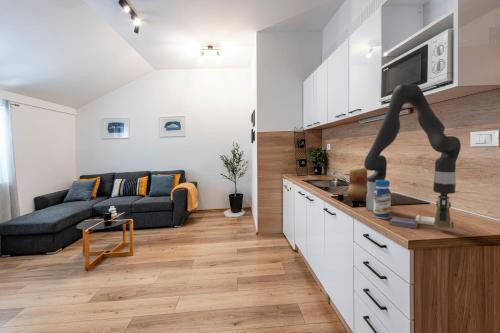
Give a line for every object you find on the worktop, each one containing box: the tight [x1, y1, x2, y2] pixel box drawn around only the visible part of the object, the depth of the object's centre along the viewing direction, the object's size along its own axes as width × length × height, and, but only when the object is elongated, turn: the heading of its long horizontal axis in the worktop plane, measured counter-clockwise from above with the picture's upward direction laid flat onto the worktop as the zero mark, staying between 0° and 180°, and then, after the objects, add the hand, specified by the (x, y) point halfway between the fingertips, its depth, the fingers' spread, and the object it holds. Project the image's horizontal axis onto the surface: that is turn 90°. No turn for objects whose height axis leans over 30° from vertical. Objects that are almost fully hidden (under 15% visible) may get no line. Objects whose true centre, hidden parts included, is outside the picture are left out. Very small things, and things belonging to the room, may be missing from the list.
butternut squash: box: [346, 165, 368, 203], centre depth 170 cm, size 14×13×25 cm
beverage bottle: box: [372, 179, 392, 220], centre depth 130 cm, size 8×8×20 cm
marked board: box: [414, 215, 452, 229], centre depth 120 cm, size 14×12×1 cm
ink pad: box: [388, 216, 419, 230], centre depth 118 cm, size 11×10×2 cm
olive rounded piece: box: [434, 200, 452, 228], centre depth 107 cm, size 6×6×11 cm
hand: (442, 219), depth 107 cm, fingers closed on olive rounded piece, 4 cm apart
